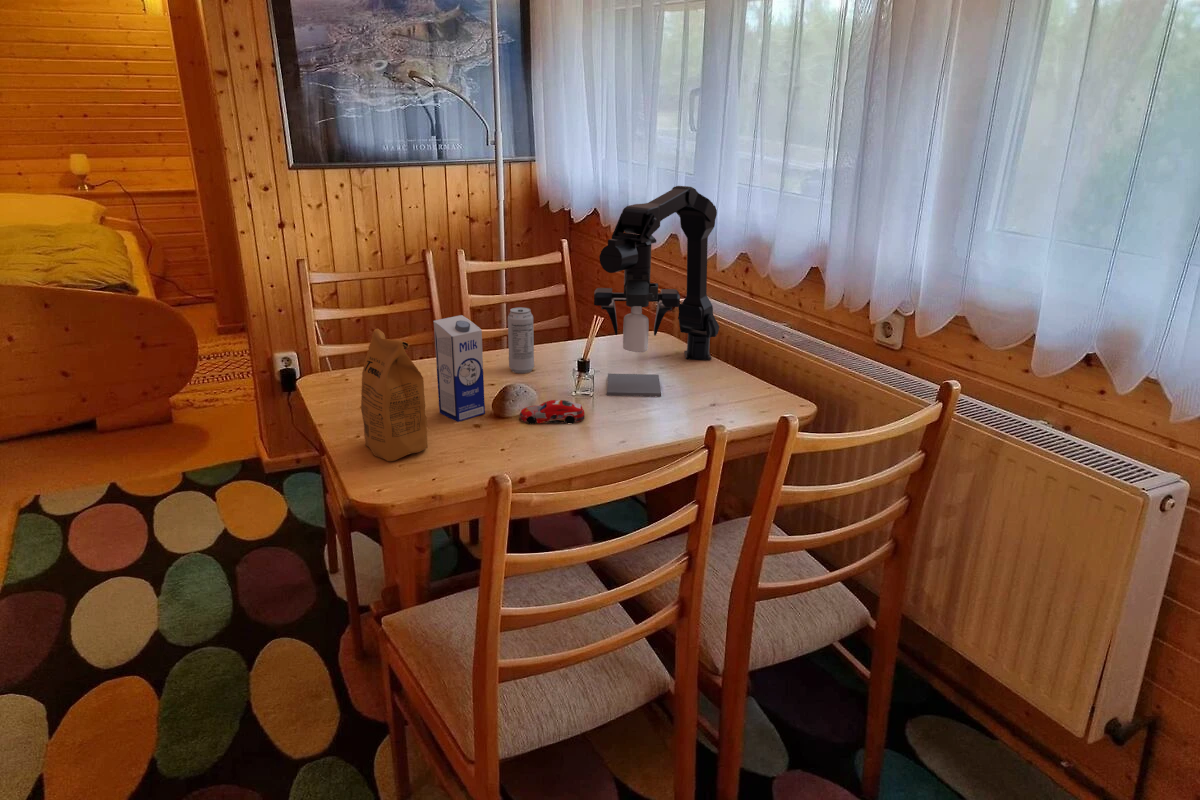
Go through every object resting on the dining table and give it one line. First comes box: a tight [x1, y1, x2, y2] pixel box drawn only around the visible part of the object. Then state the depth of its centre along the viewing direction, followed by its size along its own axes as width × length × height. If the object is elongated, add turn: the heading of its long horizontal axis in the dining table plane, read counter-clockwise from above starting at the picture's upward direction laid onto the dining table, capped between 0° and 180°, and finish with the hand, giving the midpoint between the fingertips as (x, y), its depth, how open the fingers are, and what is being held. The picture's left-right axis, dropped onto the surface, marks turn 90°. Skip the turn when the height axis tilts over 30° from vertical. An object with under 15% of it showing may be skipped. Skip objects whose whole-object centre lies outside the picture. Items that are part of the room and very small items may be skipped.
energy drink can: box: [507, 306, 535, 374], centre depth 185 cm, size 6×6×15 cm
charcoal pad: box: [606, 373, 662, 398], centre depth 178 cm, size 13×12×1 cm
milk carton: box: [433, 314, 486, 423], centre depth 157 cm, size 7×7×20 cm
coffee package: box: [360, 328, 429, 462], centre depth 140 cm, size 10×12×22 cm
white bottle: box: [622, 306, 650, 353], centre depth 173 cm, size 4×6×12 cm
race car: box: [519, 399, 585, 425], centre depth 158 cm, size 13×5×4 cm, turn 93°
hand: (635, 334), depth 174 cm, fingers closed on white bottle, 8 cm apart
